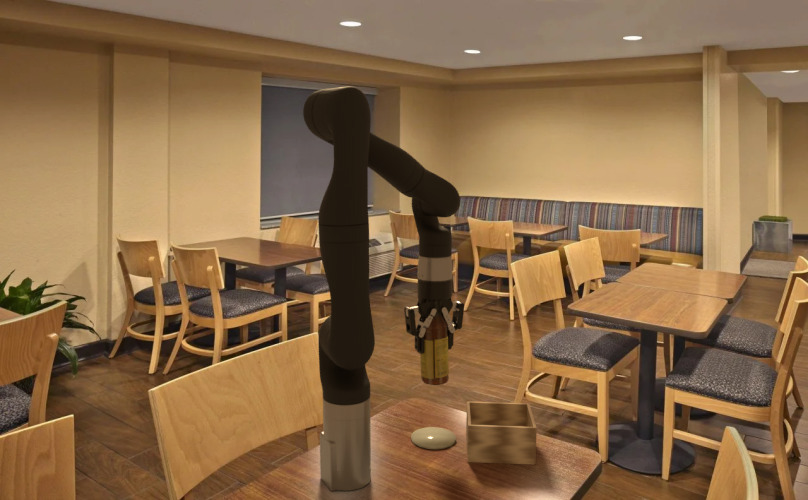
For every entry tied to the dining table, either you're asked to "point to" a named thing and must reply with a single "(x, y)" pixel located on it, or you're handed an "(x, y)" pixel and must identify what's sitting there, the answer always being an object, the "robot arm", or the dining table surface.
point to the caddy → (500, 433)
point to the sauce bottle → (435, 350)
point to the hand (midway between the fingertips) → (434, 350)
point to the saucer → (433, 438)
